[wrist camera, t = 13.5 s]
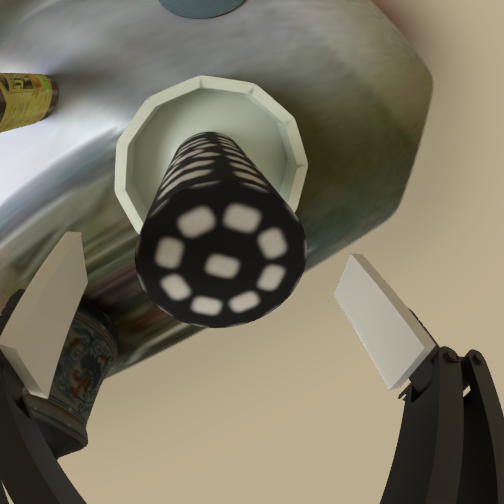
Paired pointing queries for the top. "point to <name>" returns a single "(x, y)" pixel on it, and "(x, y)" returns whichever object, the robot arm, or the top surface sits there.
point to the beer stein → (76, 380)
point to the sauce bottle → (25, 99)
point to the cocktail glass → (200, 7)
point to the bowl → (207, 120)
